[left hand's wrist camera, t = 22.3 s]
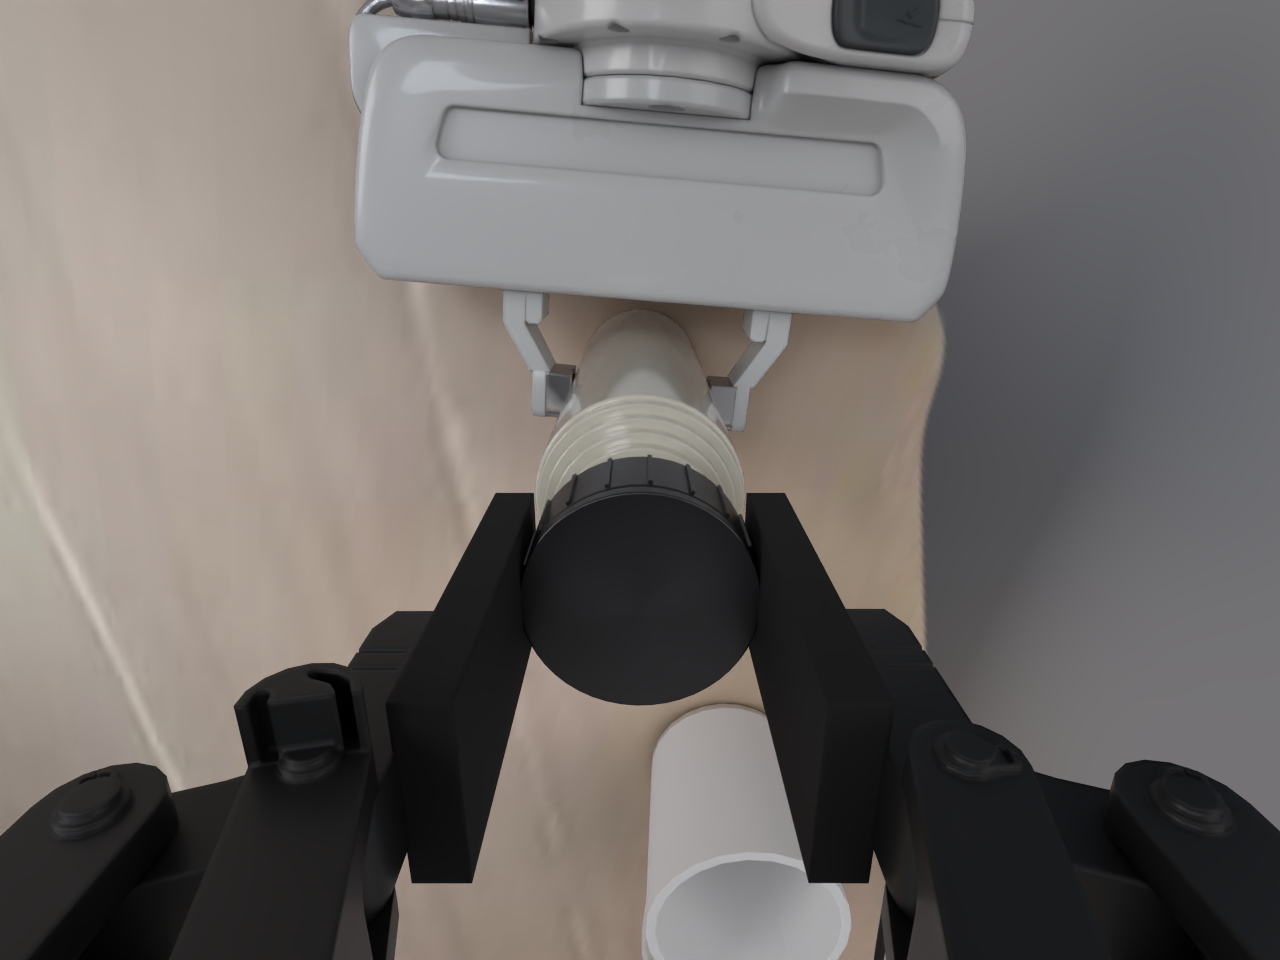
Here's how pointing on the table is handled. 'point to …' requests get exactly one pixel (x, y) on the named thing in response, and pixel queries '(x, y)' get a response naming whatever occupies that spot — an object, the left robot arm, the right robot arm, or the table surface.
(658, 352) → the bottle
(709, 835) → the mug
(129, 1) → the table surface
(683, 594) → the cap
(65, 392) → the table surface
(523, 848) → the table surface
